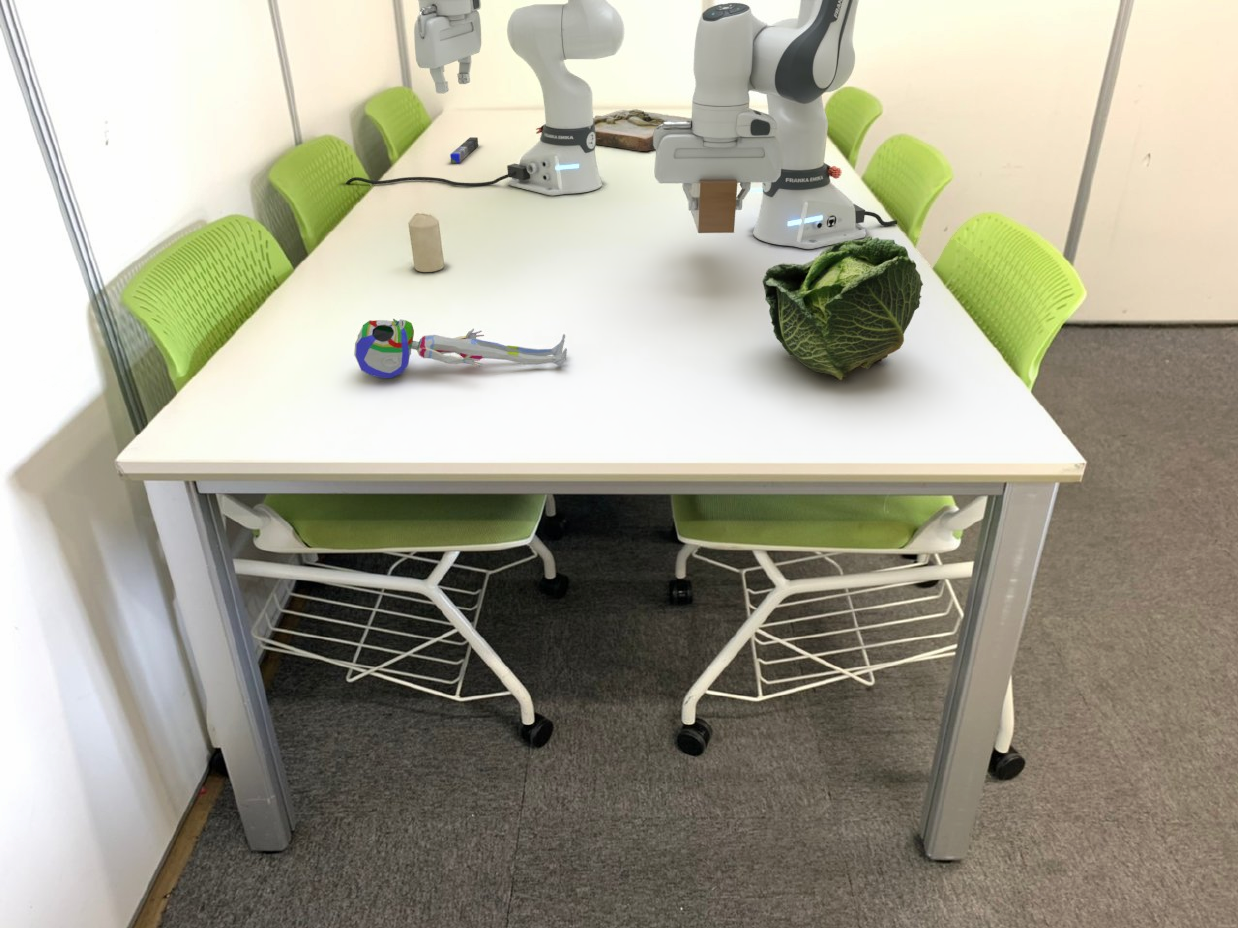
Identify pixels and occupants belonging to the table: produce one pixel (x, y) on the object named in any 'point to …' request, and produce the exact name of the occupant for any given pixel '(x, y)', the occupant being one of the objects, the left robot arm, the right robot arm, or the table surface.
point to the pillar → (464, 150)
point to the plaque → (630, 128)
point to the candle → (426, 243)
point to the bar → (715, 205)
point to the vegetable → (844, 304)
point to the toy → (435, 349)
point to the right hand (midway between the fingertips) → (715, 209)
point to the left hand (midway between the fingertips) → (453, 88)
